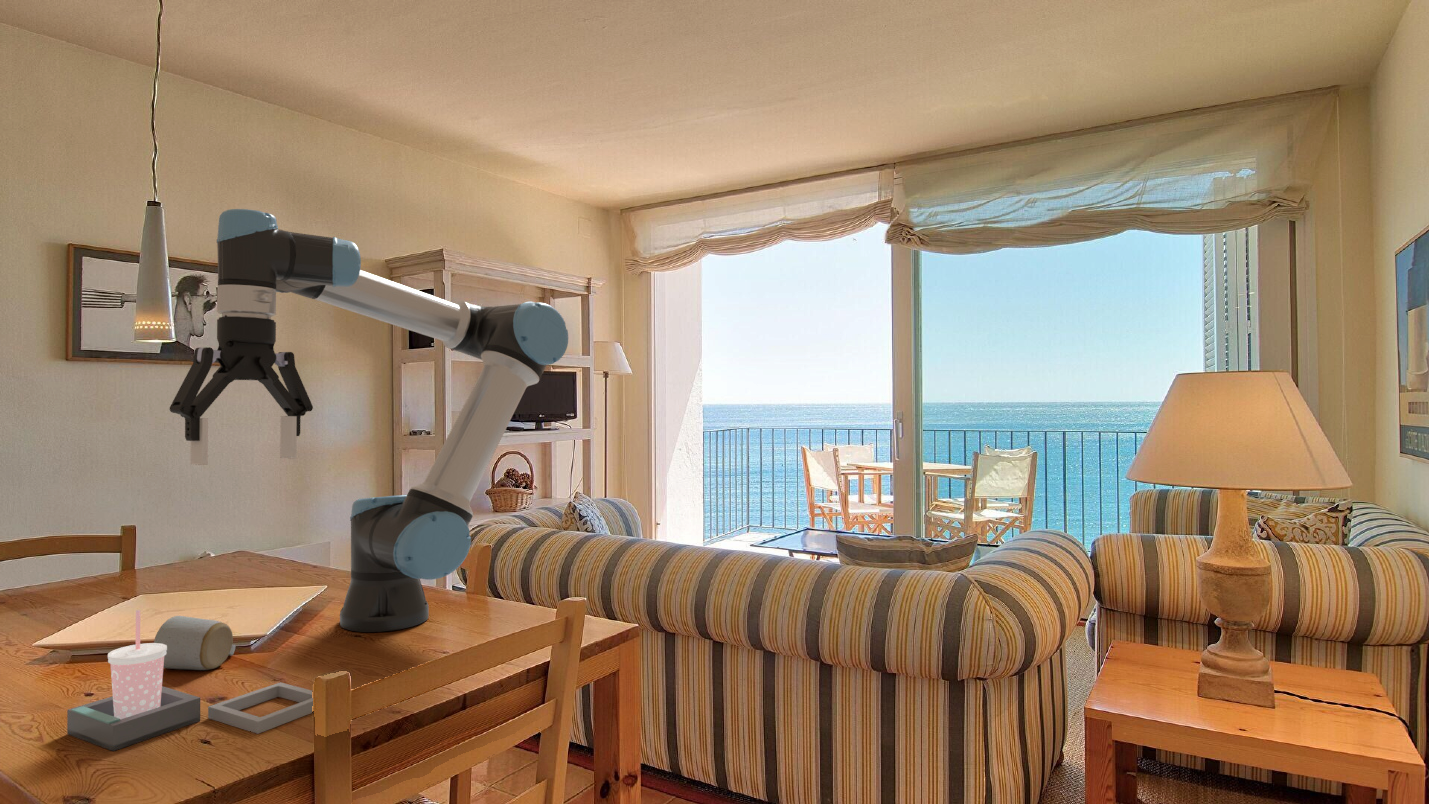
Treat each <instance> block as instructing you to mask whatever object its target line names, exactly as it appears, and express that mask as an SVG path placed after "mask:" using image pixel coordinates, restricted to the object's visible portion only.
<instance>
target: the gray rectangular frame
mask: <svg viewBox="0 0 1429 804" xmlns="http://www.w3.org/2000/svg"><path fill="white" fill-rule="evenodd" d="M312 691H313V690H311V689H307V688H303V687H300V686H296V685H291V684H289V683H284V682H281V681H280V682H277V683H275V684H271V685H268V686H265V687H263V688H259V689H257V690H256V689H255V690H253V691H250V692H247V693H245V694H242V695H239V696H235V697H232V698H230V699H227V700H224V701H221V702H218V703H215V704H213V705H210V706H209V705H208V706H207V718H208V719H210V720H213V721H216V722H219V723H223V724H225V725H229V726H231V727H235V728H238V729H242V730H244V731H247V732H250V731H251V733H253V734H257V735H259V734H261V733H263V732H267V731H269V730H271V729H274V728H277V727H279V726H282V725H284V724H287V723H290V722H291V721H294V720H297V719H301V718H302V717H304V716H308V715H310V714H313V713H312V706H313V698H312ZM278 697H279V698H280V699H281V698H282V699H286V700H290V701H293V702H295V704H292V705H290V706H287V707H284V708H282V709H279V710H276V711H273V712H272V713H268V714H266V715H263V716H261V717H260V716H257V715H254V714H250V713H247V712H245V711H241V710H245V709H247V708H250V707H253V706H256V705H258V704H261V703H264V702H267V701H270V700H273V699H276V698H278ZM296 702H297V703H296Z"/></svg>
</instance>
